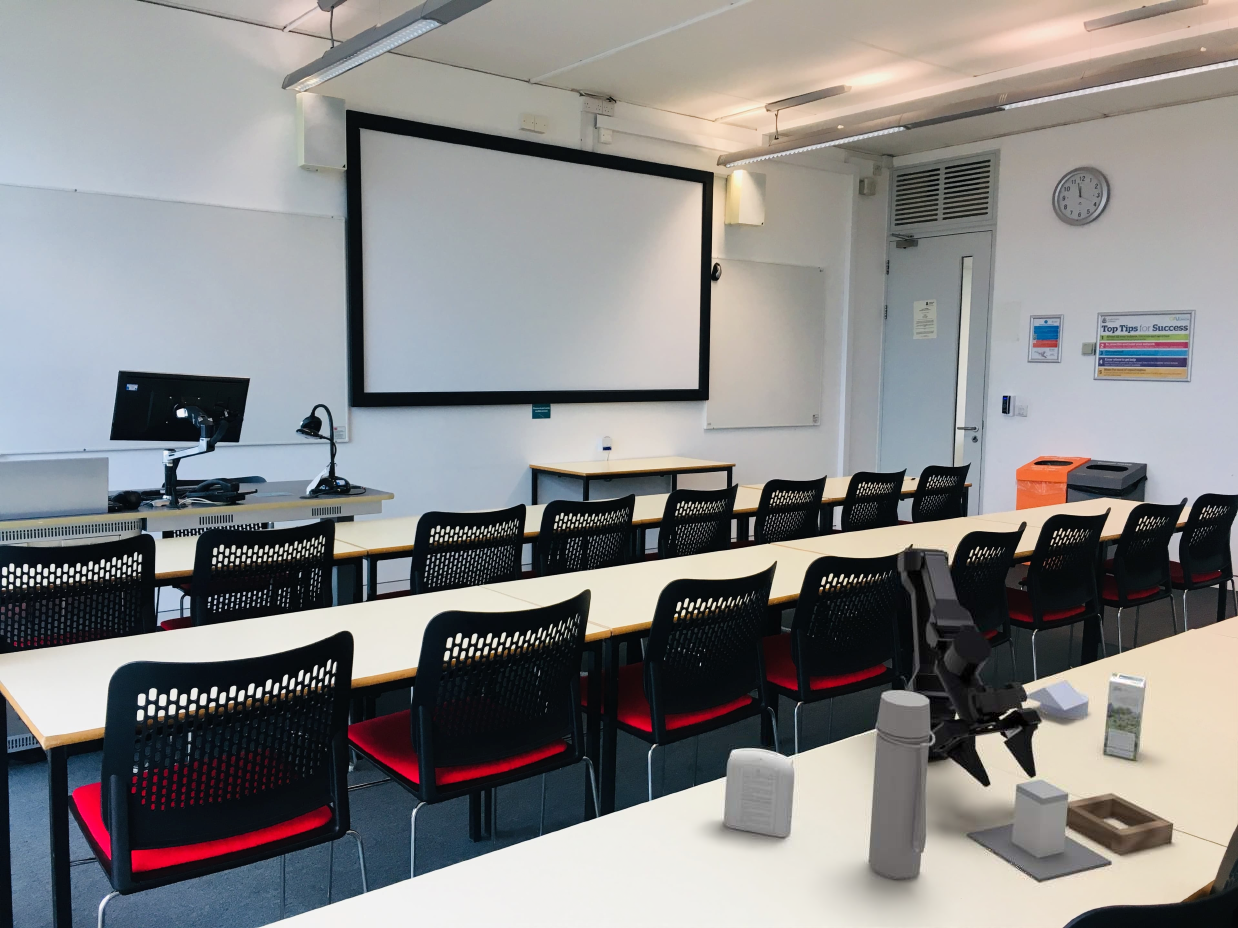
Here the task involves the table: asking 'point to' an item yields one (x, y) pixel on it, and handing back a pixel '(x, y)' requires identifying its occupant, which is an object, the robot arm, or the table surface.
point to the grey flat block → (759, 792)
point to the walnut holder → (1143, 823)
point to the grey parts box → (1040, 818)
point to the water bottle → (900, 784)
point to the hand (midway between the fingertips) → (1011, 781)
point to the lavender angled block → (1061, 700)
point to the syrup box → (1124, 716)
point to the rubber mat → (1043, 867)
